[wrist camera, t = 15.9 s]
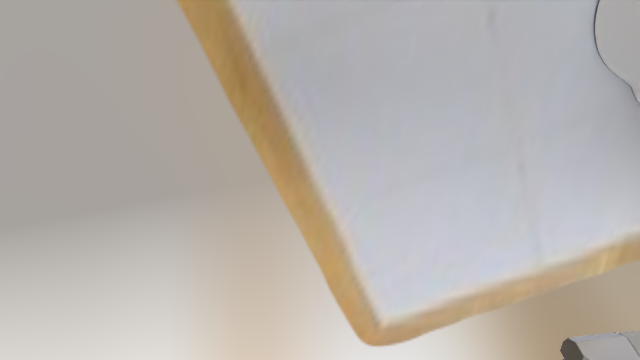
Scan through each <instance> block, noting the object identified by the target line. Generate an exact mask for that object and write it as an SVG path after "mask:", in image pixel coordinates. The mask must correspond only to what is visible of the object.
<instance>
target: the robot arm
mask: <svg viewBox="0 0 640 360" xmlns="http://www.w3.org/2000/svg"><path fill="white" fill-rule="evenodd" d="M595 37H596V43H597V47H598V51H599V53H600V56H601V58H602V59H603V61H604V63H605V64H606V65H607V67H608V68H609V69H610V70H611V71H612V72H613V73H615V74H616V75H617V76H619V77H620V78H622V79H623V80H625V81H626V82H627V83H628V84H629V85H630V86H631V87H632V90H633V92H634V95H635V97H636V99H637V101H638V102H639V104H640V0H600V2H599V5H598V9H597V14H596V21H595ZM560 351H561V353H562V355H563V357H564V359H563V360H640V331H632V332H622V333H616V332H614V333H606V334H597V335H589V336H579V337H570V338H567V339H566V340H565V341H563V343H562V346H561V350H560Z"/></svg>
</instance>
